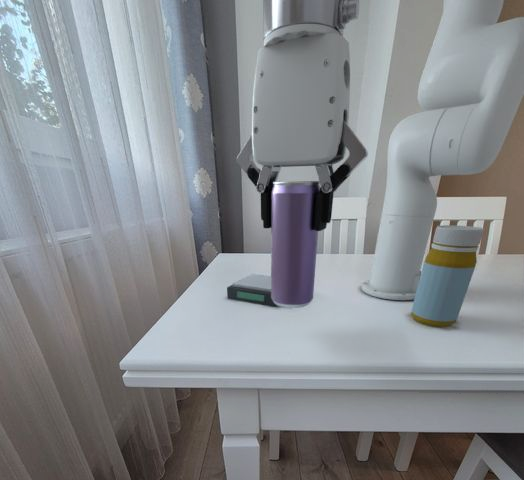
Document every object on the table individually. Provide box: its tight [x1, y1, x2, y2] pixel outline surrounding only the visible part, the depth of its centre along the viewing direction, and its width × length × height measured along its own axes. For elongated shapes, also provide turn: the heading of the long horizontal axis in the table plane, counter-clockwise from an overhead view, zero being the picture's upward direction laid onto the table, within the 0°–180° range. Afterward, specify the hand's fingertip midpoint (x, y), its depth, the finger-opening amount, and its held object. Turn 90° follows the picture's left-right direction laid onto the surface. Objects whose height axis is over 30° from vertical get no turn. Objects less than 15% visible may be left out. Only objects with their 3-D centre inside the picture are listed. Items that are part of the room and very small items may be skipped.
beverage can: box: [270, 180, 321, 309], centre depth 38 cm, size 6×6×15 cm
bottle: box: [410, 224, 485, 328], centre depth 47 cm, size 7×7×15 cm
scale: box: [226, 273, 279, 308], centre depth 62 cm, size 11×10×3 cm
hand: (294, 226), depth 37 cm, fingers closed on beverage can, 6 cm apart
